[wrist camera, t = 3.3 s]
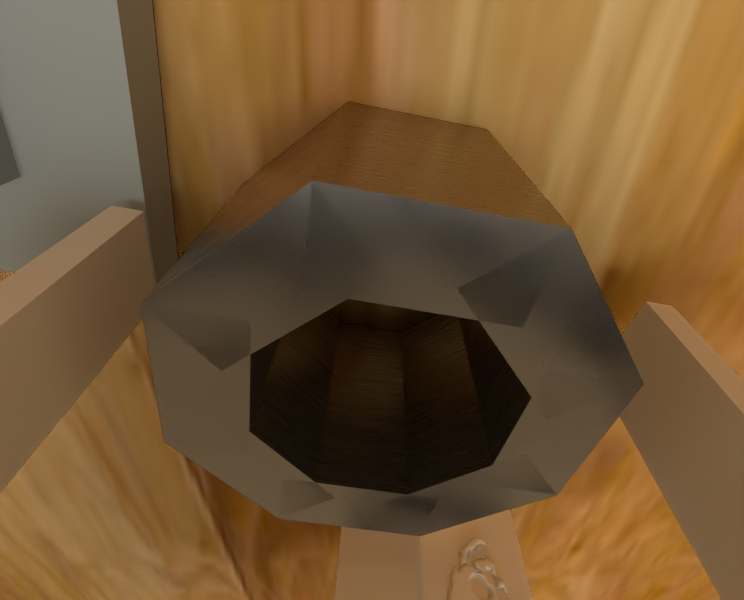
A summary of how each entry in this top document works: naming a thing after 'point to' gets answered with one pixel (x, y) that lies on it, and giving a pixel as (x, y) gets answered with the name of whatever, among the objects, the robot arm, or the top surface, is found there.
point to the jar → (434, 563)
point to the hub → (387, 333)
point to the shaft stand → (80, 125)
